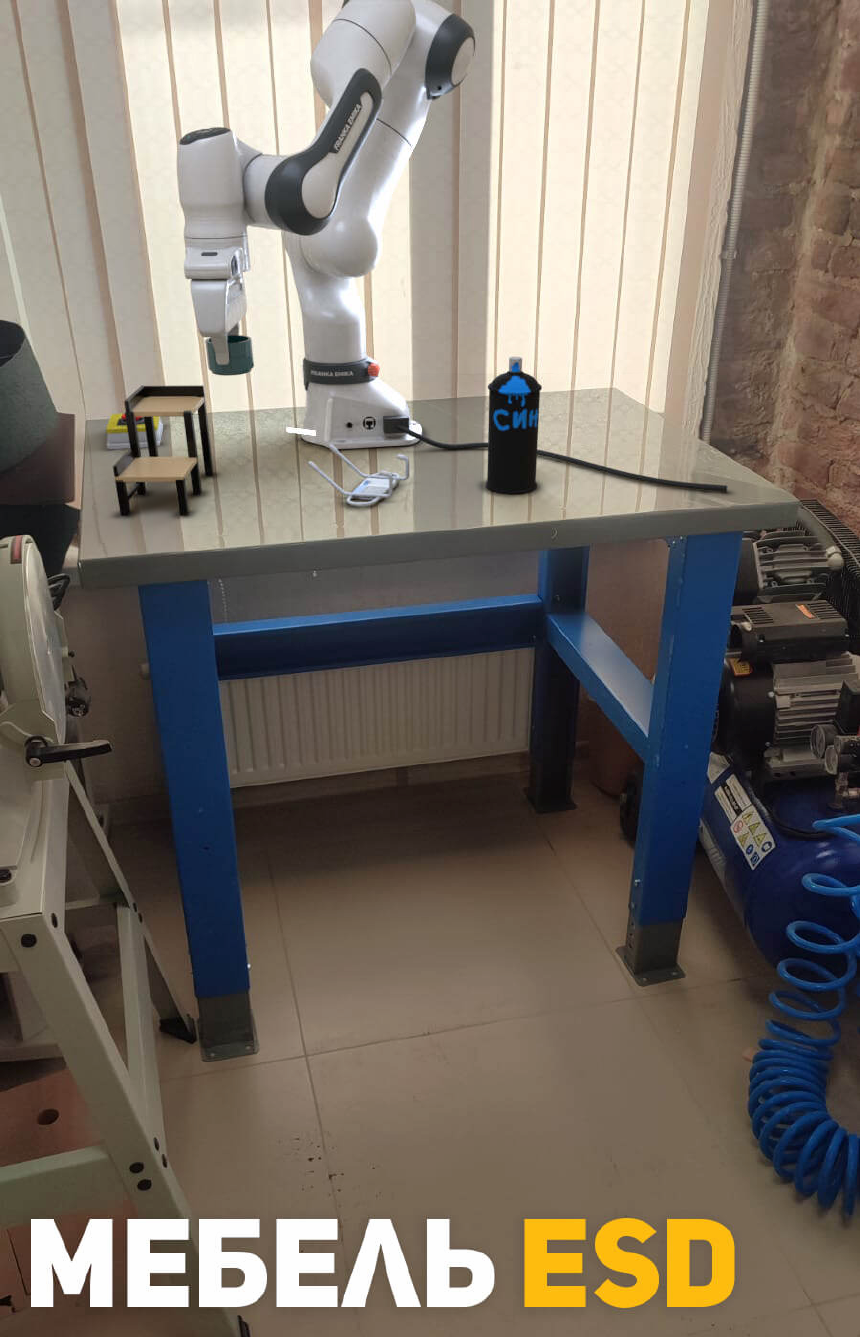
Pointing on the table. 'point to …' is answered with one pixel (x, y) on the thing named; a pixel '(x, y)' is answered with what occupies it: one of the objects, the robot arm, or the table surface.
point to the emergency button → (119, 432)
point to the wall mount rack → (367, 482)
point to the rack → (154, 467)
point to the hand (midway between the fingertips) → (228, 358)
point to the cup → (232, 356)
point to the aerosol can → (513, 431)
